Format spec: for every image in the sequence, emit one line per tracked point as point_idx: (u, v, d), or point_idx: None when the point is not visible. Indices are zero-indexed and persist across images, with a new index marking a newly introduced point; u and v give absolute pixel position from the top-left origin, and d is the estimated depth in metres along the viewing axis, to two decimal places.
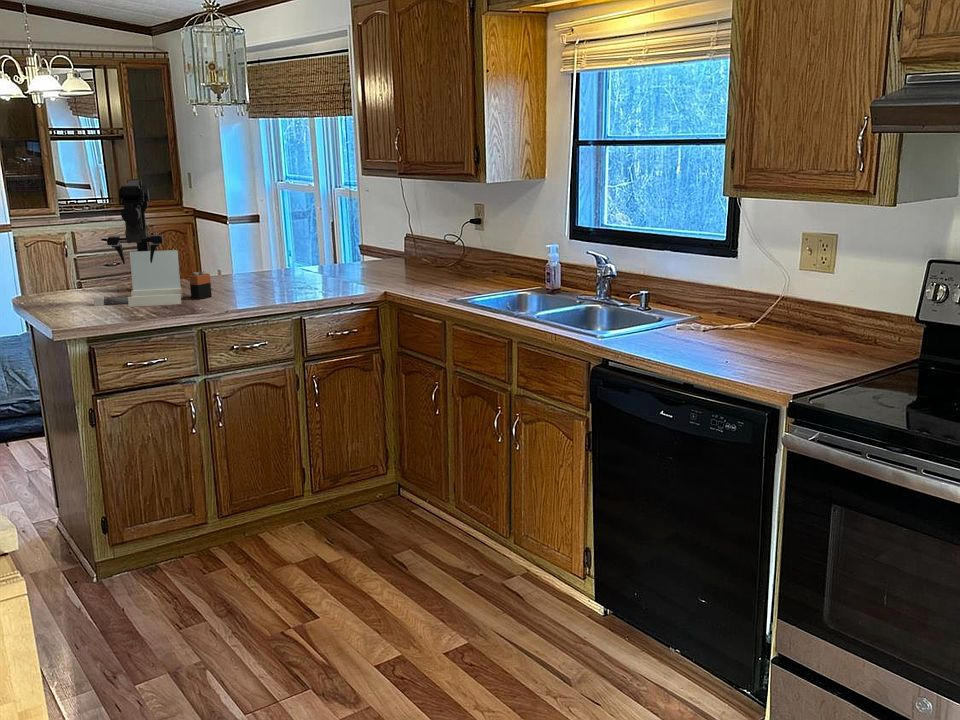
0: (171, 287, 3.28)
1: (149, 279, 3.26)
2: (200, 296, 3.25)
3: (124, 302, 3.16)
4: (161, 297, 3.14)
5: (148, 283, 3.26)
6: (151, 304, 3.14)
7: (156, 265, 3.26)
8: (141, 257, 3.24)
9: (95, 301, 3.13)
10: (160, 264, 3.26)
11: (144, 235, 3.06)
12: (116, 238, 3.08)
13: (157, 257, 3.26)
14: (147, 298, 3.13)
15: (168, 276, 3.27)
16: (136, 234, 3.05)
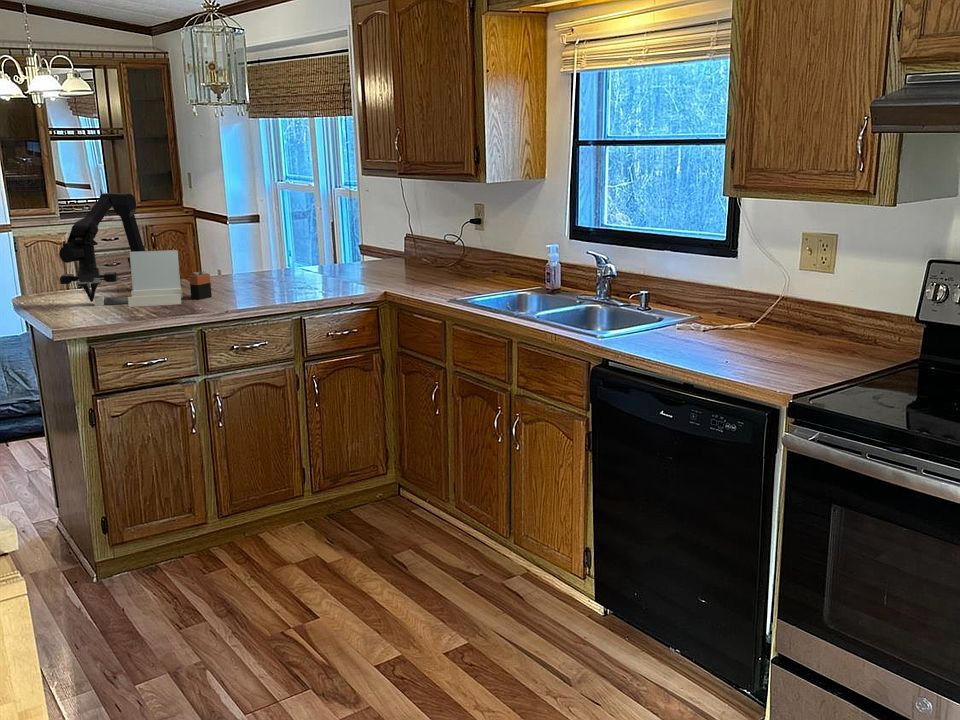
0: (171, 287, 3.28)
1: (149, 279, 3.26)
2: (200, 296, 3.25)
3: (124, 302, 3.16)
4: (161, 297, 3.14)
5: (148, 283, 3.26)
6: (151, 304, 3.14)
7: (156, 265, 3.26)
8: (141, 257, 3.24)
9: (95, 301, 3.13)
10: (160, 264, 3.26)
11: (97, 274, 3.05)
12: (69, 277, 3.07)
13: (157, 257, 3.26)
14: (147, 298, 3.13)
15: (168, 276, 3.27)
16: (88, 273, 3.04)
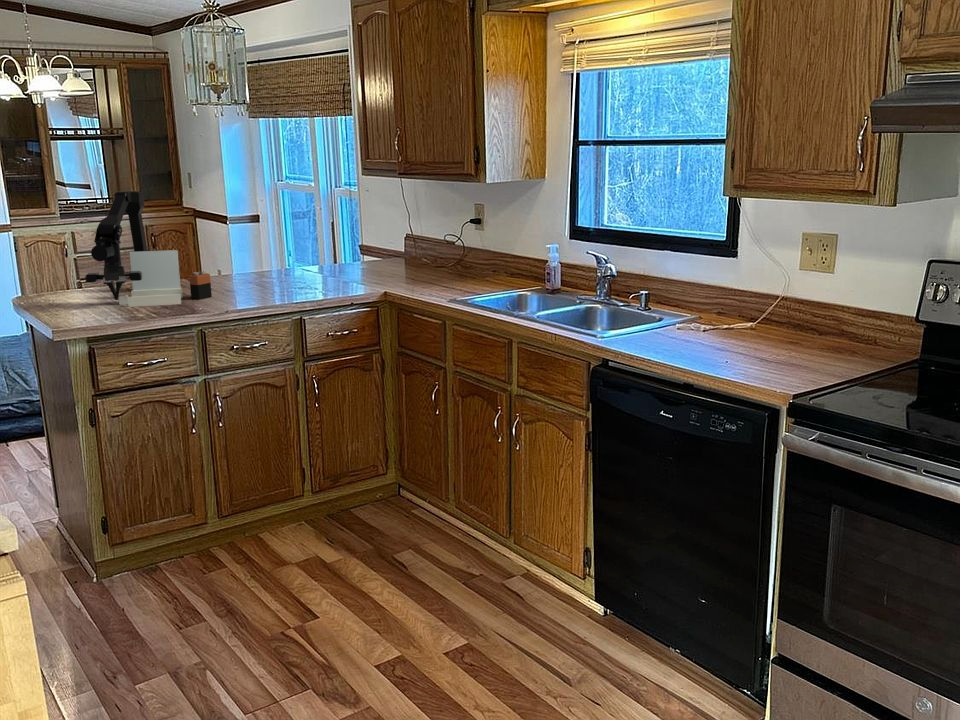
0: (171, 287, 3.28)
1: (149, 279, 3.26)
2: (200, 296, 3.25)
3: None
4: (161, 297, 3.14)
5: (148, 283, 3.26)
6: (151, 304, 3.14)
7: (156, 265, 3.26)
8: (141, 257, 3.24)
9: (120, 300, 3.15)
10: (160, 264, 3.26)
11: (122, 273, 3.08)
12: (95, 275, 3.10)
13: (157, 257, 3.26)
14: (147, 298, 3.13)
15: (168, 276, 3.27)
16: (114, 272, 3.06)
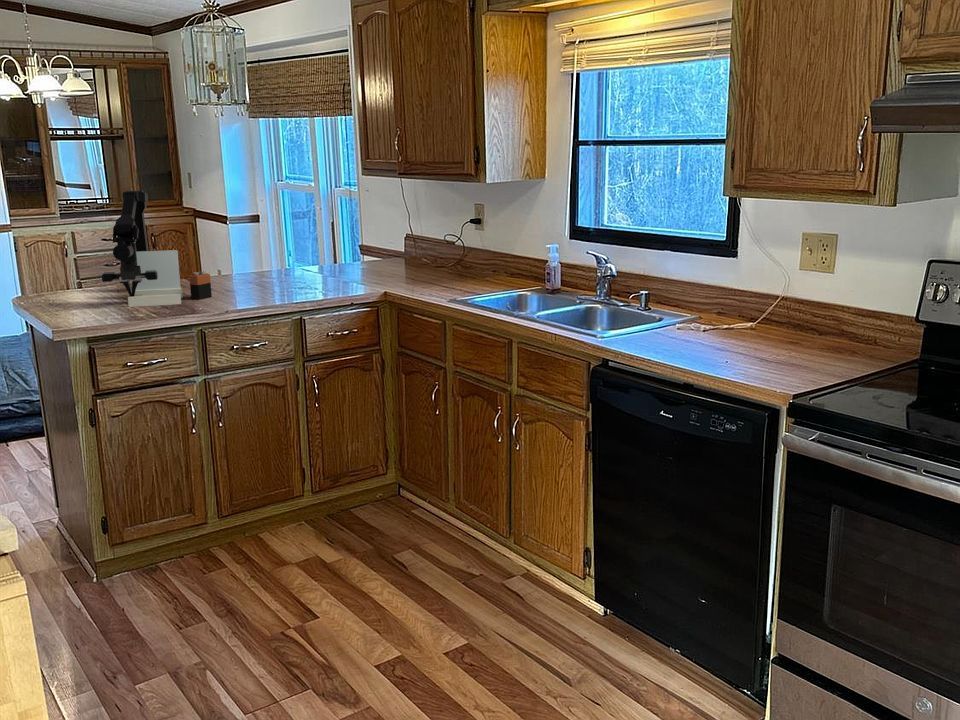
0: (171, 287, 3.28)
1: None
2: (200, 296, 3.25)
3: None
4: (161, 297, 3.14)
5: (148, 283, 3.26)
6: (151, 304, 3.14)
7: (156, 265, 3.26)
8: (141, 257, 3.24)
9: None
10: (160, 264, 3.26)
11: (139, 272, 3.09)
12: (111, 274, 3.11)
13: (157, 257, 3.26)
14: (147, 298, 3.13)
15: (168, 276, 3.27)
16: (131, 271, 3.08)
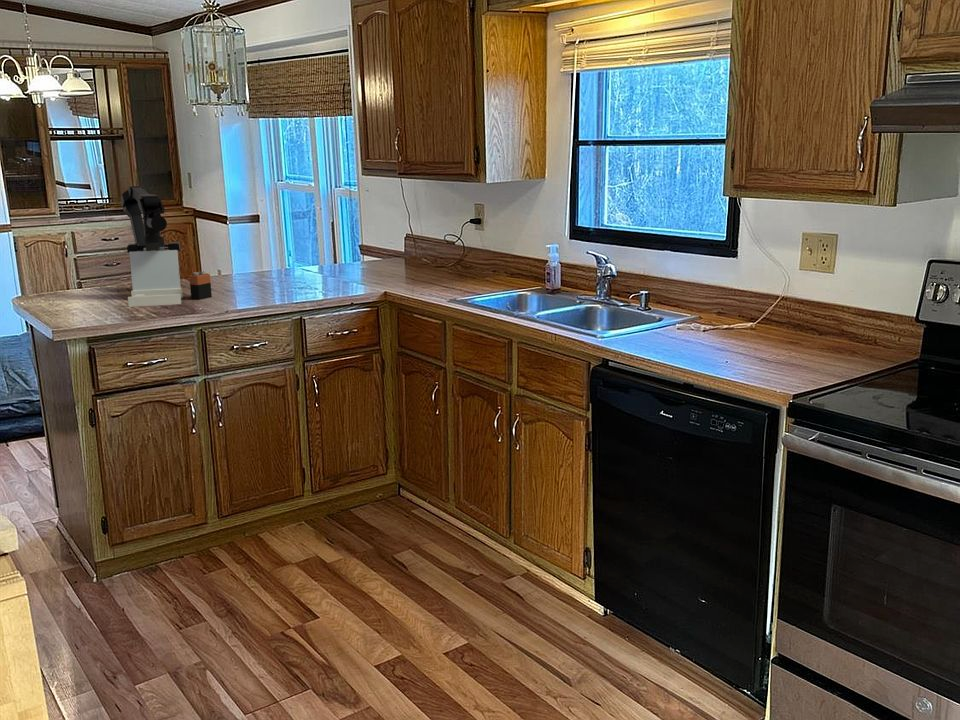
0: (171, 287, 3.28)
1: (149, 279, 3.25)
2: (200, 296, 3.25)
3: None
4: (161, 297, 3.14)
5: (148, 283, 3.26)
6: (151, 304, 3.14)
7: (156, 265, 3.26)
8: (141, 257, 3.24)
9: None
10: (160, 264, 3.26)
11: (162, 243, 3.22)
12: (136, 246, 3.24)
13: (157, 257, 3.25)
14: (147, 298, 3.13)
15: (168, 276, 3.27)
16: (155, 242, 3.20)
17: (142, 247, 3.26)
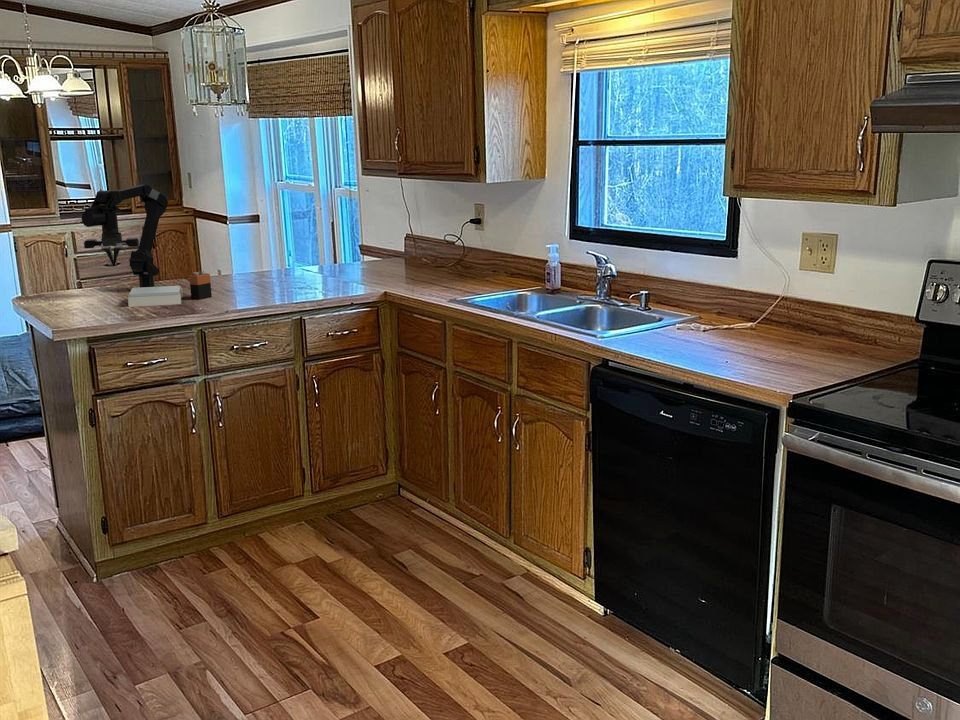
0: None
1: None
2: (200, 296, 3.25)
3: None
4: (161, 297, 3.14)
5: None
6: (151, 304, 3.14)
7: None
8: None
9: None
10: None
11: (119, 238, 3.19)
12: (93, 241, 3.21)
13: None
14: (147, 298, 3.13)
15: None
16: (112, 237, 3.18)
17: (100, 243, 3.24)
